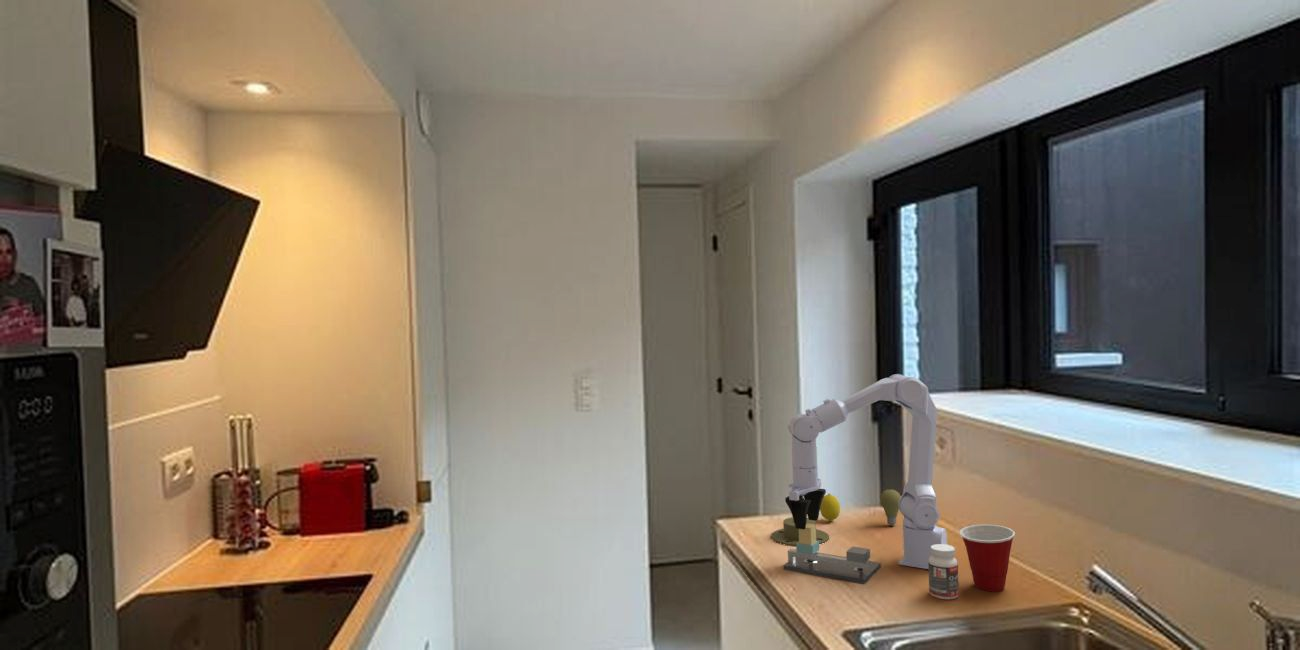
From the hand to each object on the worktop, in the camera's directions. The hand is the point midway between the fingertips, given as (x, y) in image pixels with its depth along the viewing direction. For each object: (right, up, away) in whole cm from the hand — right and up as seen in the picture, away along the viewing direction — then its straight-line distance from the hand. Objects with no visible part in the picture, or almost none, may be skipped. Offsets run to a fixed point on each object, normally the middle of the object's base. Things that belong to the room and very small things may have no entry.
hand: (807, 524), depth 169 cm
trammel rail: (+4, -9, -3) cm, 10 cm away
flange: (+3, -10, +23) cm, 25 cm away
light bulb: (+30, -9, +30) cm, 43 cm away
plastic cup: (+35, -9, -15) cm, 40 cm away
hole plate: (+6, -10, -1) cm, 12 cm away
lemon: (+14, -9, +36) cm, 39 cm away
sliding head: (0, -9, 0) cm, 9 cm away
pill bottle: (+24, -10, -19) cm, 32 cm away
